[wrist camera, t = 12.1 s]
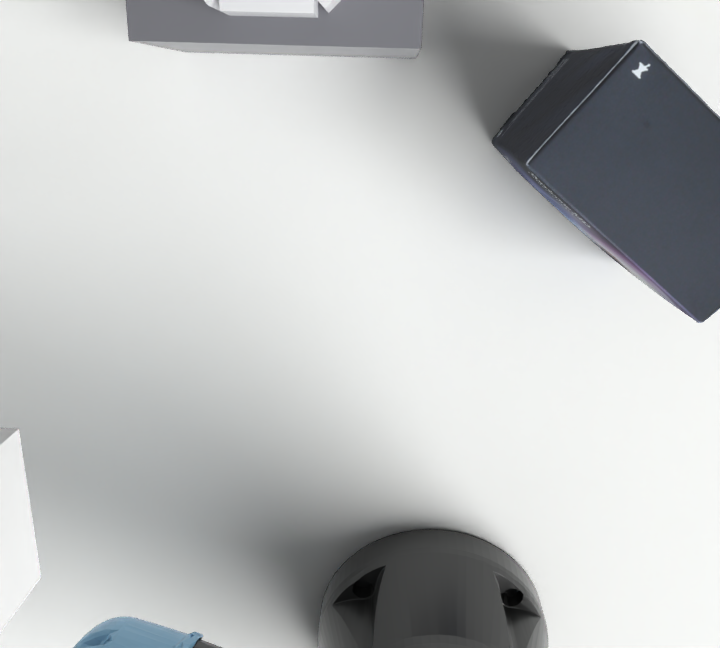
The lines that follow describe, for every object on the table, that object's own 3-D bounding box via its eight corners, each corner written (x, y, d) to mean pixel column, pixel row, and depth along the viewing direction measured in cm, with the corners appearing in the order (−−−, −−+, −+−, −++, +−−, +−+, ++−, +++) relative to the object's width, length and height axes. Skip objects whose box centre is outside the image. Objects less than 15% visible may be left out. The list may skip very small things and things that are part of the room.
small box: (482, 146, 36) (515, 166, 26) (570, 45, 34) (641, 25, 25) (620, 270, 38) (700, 333, 28) (710, 180, 36) (830, 213, 26)
